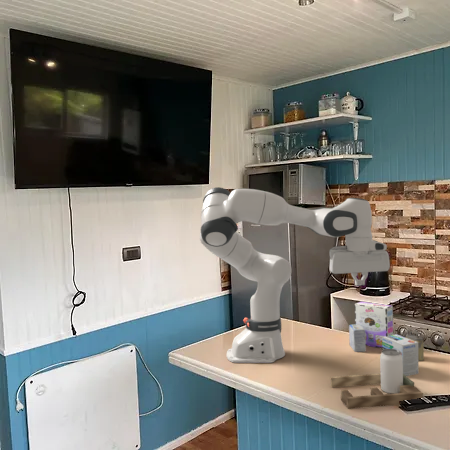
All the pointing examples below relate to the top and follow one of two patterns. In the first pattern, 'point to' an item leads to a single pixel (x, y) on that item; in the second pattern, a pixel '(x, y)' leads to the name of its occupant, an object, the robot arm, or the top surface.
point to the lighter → (420, 342)
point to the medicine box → (357, 338)
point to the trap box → (373, 391)
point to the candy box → (374, 321)
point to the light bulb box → (404, 352)
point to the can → (391, 370)
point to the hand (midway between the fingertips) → (359, 285)
